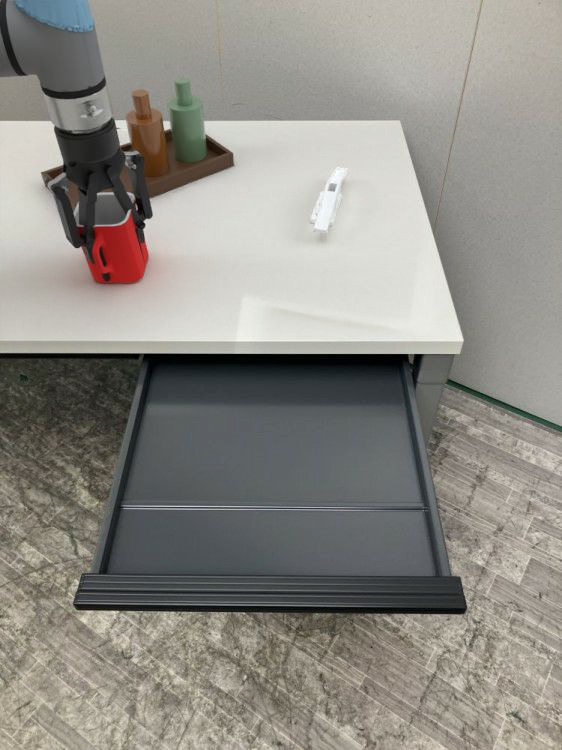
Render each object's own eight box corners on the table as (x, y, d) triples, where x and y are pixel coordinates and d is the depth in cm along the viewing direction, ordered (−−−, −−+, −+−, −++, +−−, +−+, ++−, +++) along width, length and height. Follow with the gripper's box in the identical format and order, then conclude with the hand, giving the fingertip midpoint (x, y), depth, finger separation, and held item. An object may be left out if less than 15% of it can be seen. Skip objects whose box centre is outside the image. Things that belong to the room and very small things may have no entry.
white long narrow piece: (302, 241, 98) (303, 212, 94) (326, 179, 111) (327, 151, 107) (325, 245, 97) (328, 216, 93) (347, 182, 110) (349, 154, 106)
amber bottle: (146, 180, 109) (132, 104, 98) (129, 166, 112) (114, 91, 102) (176, 169, 111) (165, 94, 101) (158, 156, 115) (146, 81, 104)
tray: (82, 224, 101) (78, 211, 99) (44, 185, 109) (40, 172, 107) (234, 165, 114) (233, 153, 112) (190, 134, 122) (189, 122, 120)
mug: (102, 250, 96) (82, 193, 87) (152, 249, 95) (137, 191, 87) (83, 301, 88) (60, 243, 80) (138, 301, 87) (120, 242, 79)
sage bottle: (185, 166, 112) (176, 91, 102) (168, 152, 116) (157, 78, 105) (213, 155, 115) (207, 81, 104) (195, 142, 118) (187, 69, 108)
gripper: (25, 156, 68) (77, 306, 85) (162, 110, 75) (185, 257, 93) (0, 131, 72) (55, 280, 89) (133, 90, 79) (160, 235, 97)
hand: (121, 268), depth 91 cm, fingers closed on mug, 5 cm apart
